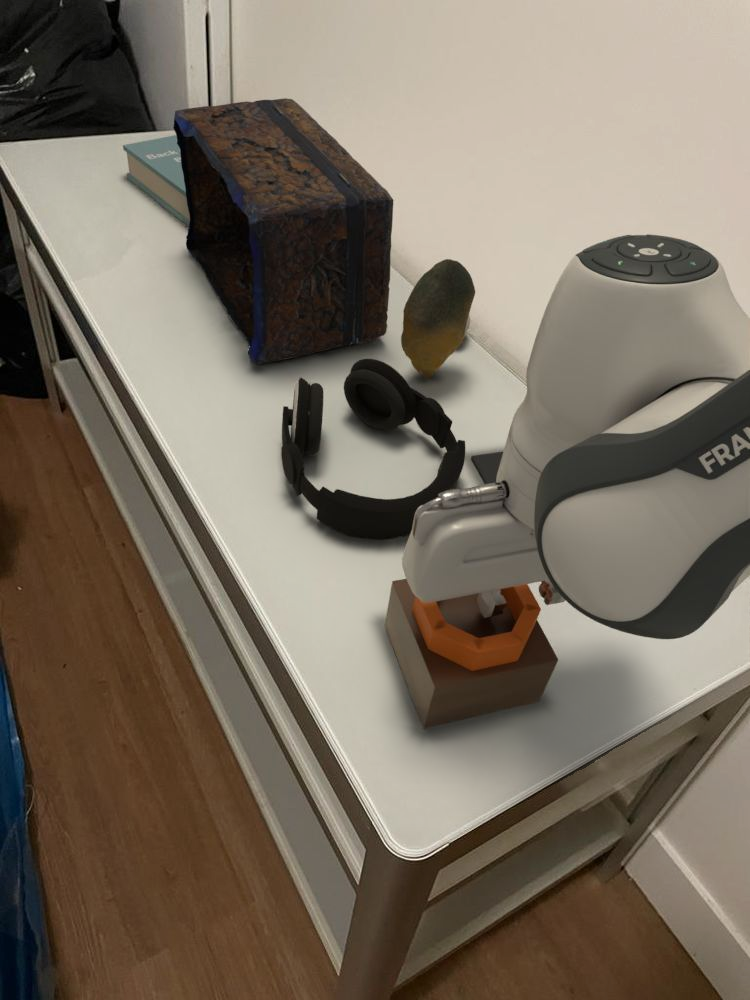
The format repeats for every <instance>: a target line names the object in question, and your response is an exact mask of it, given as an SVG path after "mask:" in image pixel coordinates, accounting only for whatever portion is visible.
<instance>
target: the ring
mask: <svg viewBox="0 0 750 1000" xmlns="http://www.w3.org/2000/svg"><path fill="white" fill-rule="evenodd" d="M500 591H501V593H500V594H501V595H502V596H504V598H505V600H506V602H507V605H508V607H509V609H510V611H511V613H512V615H513V617H514V619H515V621H516V624H515V626H514V628H513V630H512V632H507V633H502V634H498V635H493V636H488V637H483V638H477V637H475V636H473V635H471V634H469V633H467V632H465V631H462V630H460V629H458V628H456V627H454V626H452V625H450V624H448V623H446V622H445V621H444V618H443V616H442V614H441V612H440V609H439V607H438V605H437V602H431V603H425V602H423V601H421V600H420V599H419V598H417V597H416V596H415V600H414V605H413V610H412V611H413V613H414V616H415V618H416V621H417V623H418V626H419V628H420V631H421V633H422V635H423V638H424V640H425V643H426V645H427V648H428V649H429V650H431V651H433V652H435V653H437V654H439V655H441V656H443V657H445V658H447V659H449V660H451V661H453V662H455V663H457V664H459V665H461V666H463V667H465V668H467V669H469V670H471V671H474V670H479V669H484V668H488V667H493V666H497V665H502V664H506V663H511V662H515V661H518V659H519V657H520V655H521V653H522V651H523V649H524V647H525V645H526V642H527V640H528V638H529V636H530V634H531V632H532V630H533V628H534V625H535V623H536V620H537V621H538V618H539V616H540V614H541V610H542V608H541V606H540V604H539V602H538V601H537V599H536V597H535V595H534V594H533V591H532V590H531V588H530V586H529V584H525V585H520V586H514V587H509V588H504V589H500Z"/></svg>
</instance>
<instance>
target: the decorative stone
mask: <svg viewBox="0 0 750 1000" xmlns="http://www.w3.org/2000/svg"><path fill="white" fill-rule="evenodd" d="M475 295H476V288H475V285H474V281H473V277H472V275H471V274H470V273H469V271H468V269H467V268H466V267H465V266H464V265H463V264H462V263H461V262H459V261H458V260H454V259H450V258H446V259H443V260H441V261H438V262H437V263H435V264H434V265H433V266H432V267H431V268H430V269H428V270H427V271H426V272H425V273H423V275H422V276H421V277H420V278H419V279H418V280H417V282H416V283H415V285H414V287H413V288H412V291H411V292H410V294H409V296H408V298H407V300H406V302H405V304H404V308H403V315H402V317H403V318H402V320H403V321H402V333H401V336H400V344H401V348H402V351H403V352H404V355H405V356H406V357H407V358H408V359H409V360H410V363H411V365H412V367H413V368H414V370H415V371H416V372H418V373H421V374H422V378H427V379H429V378H430V379H431V378H432V377H433V376H434V375H435V373H436V372H437V371H438V370H439V369H440V368H441V367H442V366H443V365H444V364H445V362H446V361H447V360H448V358H449V357H450V356H452V355H453V354H454V353H455V351H456V350H457V349H458V348H459V347H460V345H462V343H463V341H464V339H465V337H464V334H465V328H466V324H467V320H468V316H470V313H471V308H472V305H473V302H474V298H475Z"/></svg>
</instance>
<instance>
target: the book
mask: <svg viewBox="0 0 750 1000" xmlns="http://www.w3.org/2000/svg"><path fill="white" fill-rule="evenodd" d="M122 148H123V149H122V150H123V151H124V152H126V158H127V166H128V167H127V168H128V172H127V173H126V178H127V179H128V180H129V181H130V182H132V184H134V185H135V186H137V187H138V188H139V190H140V189H141V191H143V192H144V193H145V194H147V195H148V196H149V197H151V198H152V199H153V200H154V201H156V203H158V204H160V205H161V206H162V207H163V208H164V209H166V210H167V211H169V213H171V214H172V215H173V216H174V217H176V218H177V219H179V220H180V221H181V222H182V223H183V224H184V225H186V226H187V227H189V224H190V214H189V210H188V205H187V198H186V189H185V182H184V175H183V171H182V166H181V154H180V148H179V146H178V145H177V135H176V134H175V135H170V136H169V135H168V136H164V137H157V138H154V139H153V138H152V139H149V140H143V141H142V140H141V141H138V142H137V141H136V142H132V143H126V144H122Z"/></svg>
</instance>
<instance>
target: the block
mask: <svg viewBox="0 0 750 1000" xmlns="http://www.w3.org/2000/svg"><path fill="white" fill-rule="evenodd" d="M390 587H391V588H390V593H389V598H388V604H387V609H386V616H385V622H384V627H385V630H386V633H387V635H388V638H389V641H390V643H391V647H392V648H393V651H394V654H395V658H396V659H397V662H398V665H399V667H400V670H401V673H402V675H403V678H404V681H405V684H406V686H407V689H408V691H409V694H410V697H411V700H412V702H413V705H414V707H415V710H416V713H417V716H418V718H419V721H420V724H421V726H422V729H428V728H433V727H437V726H442V725H445V724H449V723H453V722H457V721H458V722H459V721H463V720H467V719H470V718H471V719H472V718H474V717H480V716H484V715H487V714H488V715H489V714H492V713H496V712H500V711H504V710H509V709H513V708H517V707H521V706H525V705H529V704H535V703H538V702H540V701H541V698H542V697H543V695H544V693H545V689H546V688H547V686H548V684H549V681H550V679H551V677H552V674H553V673H554V670H555V668H556V666H557V664H558V662H559V658H558V656H557V655H556V652H555V650H554V648H553V647H552V645H551V643H550V642H549V639H548V637H547V636H546V634H545V632H544V630H543V628H542V626H541V625H540V623H539V621H538V619H537V620H536V623H535V625H534V628H533V630H532V632H531V634H530V636H529V638H528V640H527V642H526V645H525V647H524V649H523V651H522V653H521V655H520V657H519V659H518V661H515V662H511V663H506V664H502V665H497V666H493V667H488V668H484V669H479V670H474V671H471V670H469V669H467V668H465V667H463V666H461V665H459V664H457V663H455V662H453V661H451V660H449V659H447V658H445V657H443V656H441V655H439V654H437V653H435V652H433V651H431V650H429V649H428V648H427V645H426V643H425V640H424V638H423V635H422V633H421V631H420V628H419V626H418V623H417V621H416V618H415V616H414V613H413V611H412V610H413V605H414V600H415V595H414V594H413V592H412V590H411V588H410V586H409V584H408V581H407V579H406V578H403V579H397V580H392V581H391V586H390ZM478 594H479V593H478ZM478 594H473V595H467V596H462V597H457V598H452V599H446V600H441V601H436V602H437V605H438V607H439V609H440V612H441V614H442V616H443V618H444V621H445V622H446V623H448V624H450V625H452V626H454V627H456V628H458V629H460V630H462V631H465V632H467V633H469V634H471V635H473V636H475V637H477V638H483V637H488V636H493V635H498V634H502V633H507V632H512V630H513V628H514V626H515V624H516V621H515V619H514V617H513V615H512V613H511V611H510V609H509V607H508V605H507V603H506V606H505V608H504V609H503V611H504V612H503V614H500V615H496V616H492V617H487V618H484V617H483V616H482V614H481V611H480V609H479V607H478V604H477V597H478Z"/></svg>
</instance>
